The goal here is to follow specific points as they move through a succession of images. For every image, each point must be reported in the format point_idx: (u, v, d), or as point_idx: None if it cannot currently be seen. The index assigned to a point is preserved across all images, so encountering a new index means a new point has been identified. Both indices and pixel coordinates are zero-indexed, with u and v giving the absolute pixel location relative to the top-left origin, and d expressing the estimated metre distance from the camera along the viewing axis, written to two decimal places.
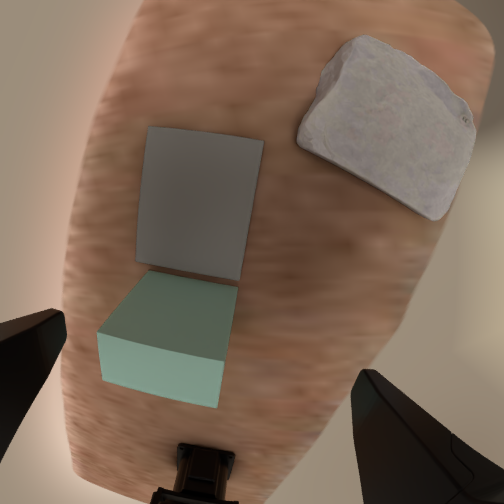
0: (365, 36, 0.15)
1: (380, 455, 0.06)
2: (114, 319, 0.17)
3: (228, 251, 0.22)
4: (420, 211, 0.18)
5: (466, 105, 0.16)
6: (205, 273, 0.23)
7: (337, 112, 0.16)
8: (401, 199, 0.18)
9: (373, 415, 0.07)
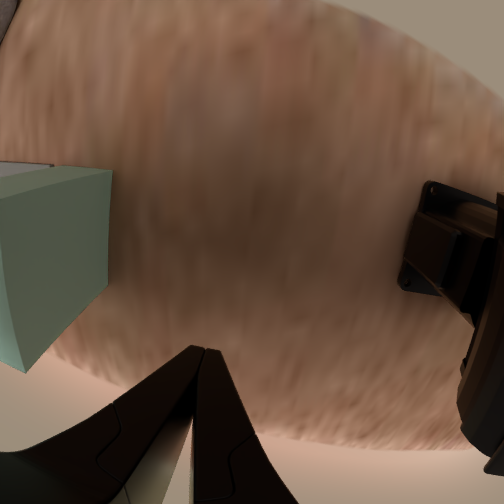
0: None
1: (191, 441, 0.06)
2: None
3: None
4: None
5: None
6: None
7: None
8: None
9: (194, 396, 0.07)
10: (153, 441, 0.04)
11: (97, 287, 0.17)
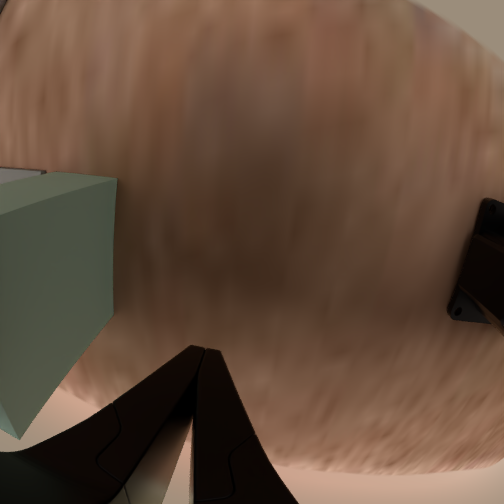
0: None
1: (191, 441, 0.06)
2: None
3: None
4: None
5: None
6: None
7: None
8: None
9: (194, 396, 0.07)
10: (153, 441, 0.04)
11: (100, 320, 0.14)
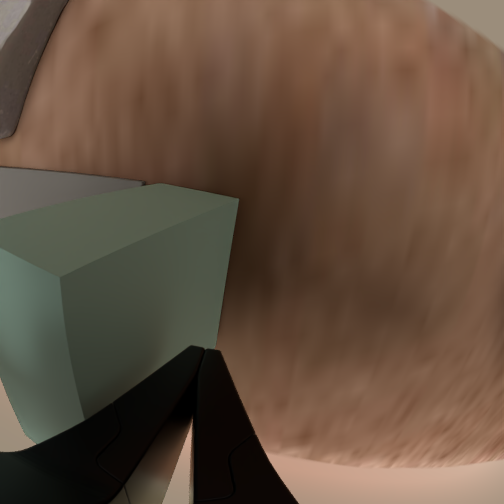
0: None
1: (191, 441, 0.06)
2: None
3: None
4: None
5: None
6: None
7: None
8: None
9: (194, 396, 0.07)
10: (153, 441, 0.04)
11: None
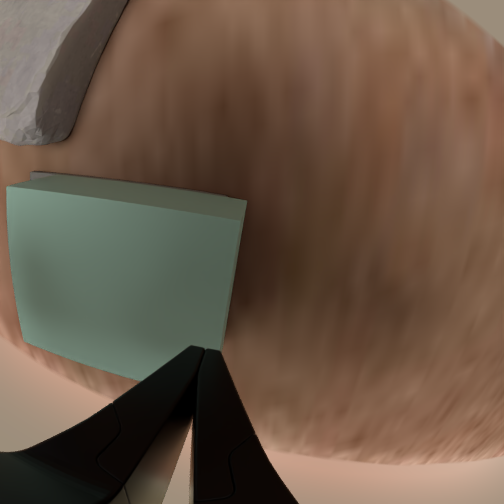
0: None
1: (191, 441, 0.06)
2: None
3: None
4: None
5: None
6: None
7: None
8: None
9: (194, 396, 0.07)
10: (153, 441, 0.04)
11: None
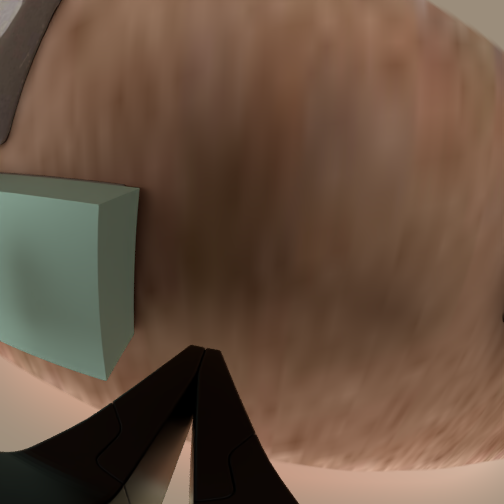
0: None
1: (191, 441, 0.06)
2: None
3: None
4: None
5: None
6: None
7: None
8: None
9: (194, 396, 0.07)
10: (153, 441, 0.04)
11: (72, 360, 0.11)
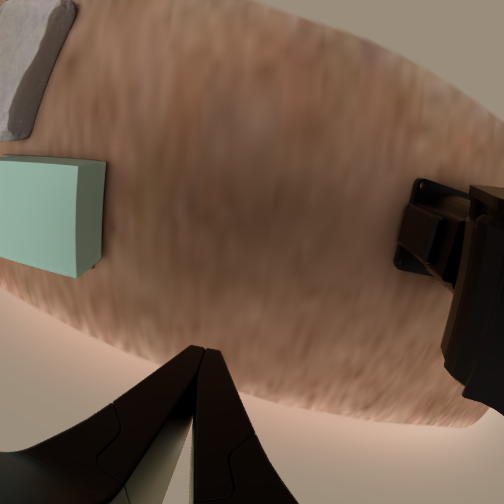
0: None
1: (191, 441, 0.06)
2: None
3: None
4: (46, 21, 0.13)
5: None
6: None
7: None
8: (39, 41, 0.14)
9: (194, 396, 0.07)
10: (153, 441, 0.04)
11: (57, 265, 0.18)
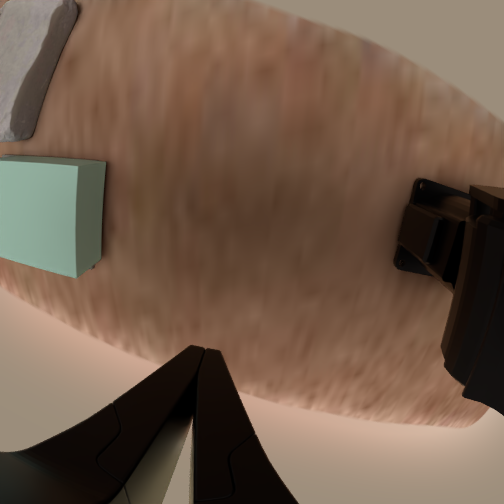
0: None
1: (191, 441, 0.06)
2: None
3: None
4: (48, 21, 0.13)
5: None
6: None
7: None
8: (41, 41, 0.14)
9: (194, 396, 0.07)
10: (153, 441, 0.04)
11: (57, 265, 0.18)
